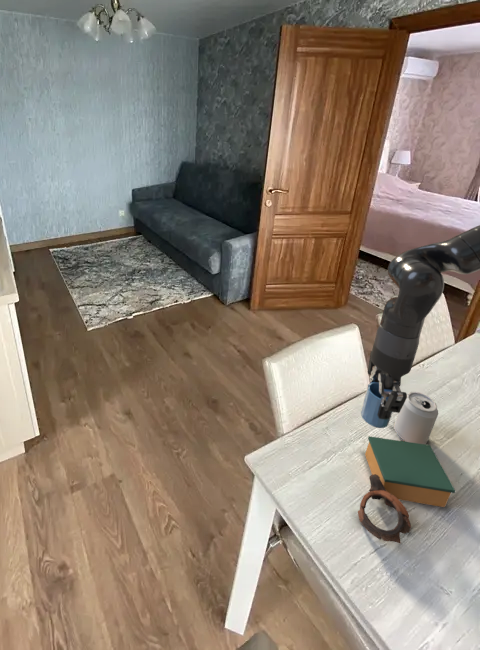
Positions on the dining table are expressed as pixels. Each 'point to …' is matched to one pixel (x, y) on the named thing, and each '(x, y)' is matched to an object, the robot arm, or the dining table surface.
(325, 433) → the dining table surface
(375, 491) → the brown jagged ring
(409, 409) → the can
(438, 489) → the container
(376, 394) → the cup
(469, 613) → the dining table surface
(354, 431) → the dining table surface
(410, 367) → the robot arm
